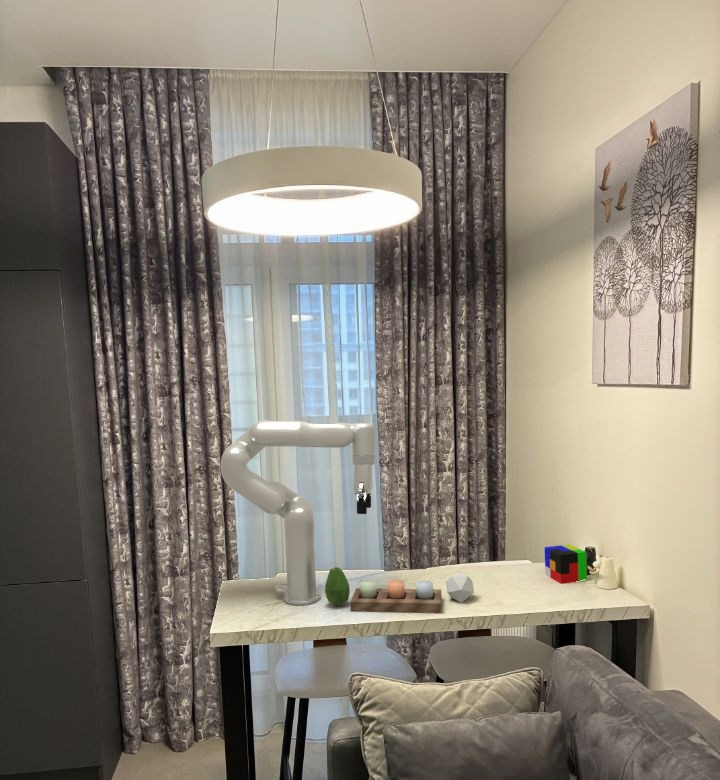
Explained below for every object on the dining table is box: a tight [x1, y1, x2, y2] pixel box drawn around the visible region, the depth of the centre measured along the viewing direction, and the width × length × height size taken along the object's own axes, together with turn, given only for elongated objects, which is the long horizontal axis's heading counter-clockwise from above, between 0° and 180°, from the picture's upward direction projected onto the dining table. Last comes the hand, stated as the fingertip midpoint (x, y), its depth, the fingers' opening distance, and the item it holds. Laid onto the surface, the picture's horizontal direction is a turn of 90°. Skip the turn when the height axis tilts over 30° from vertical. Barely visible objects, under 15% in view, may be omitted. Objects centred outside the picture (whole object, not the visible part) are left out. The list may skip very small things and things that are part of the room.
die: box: [445, 571, 475, 603], centre depth 191 cm, size 8×9×10 cm
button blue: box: [415, 580, 434, 599], centre depth 187 cm, size 5×5×4 cm
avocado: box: [324, 566, 351, 606], centre depth 190 cm, size 8×8×12 cm
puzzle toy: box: [544, 544, 588, 585], centre depth 207 cm, size 10×10×10 cm
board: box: [349, 587, 442, 614], centre depth 188 cm, size 28×12×3 cm, turn 82°
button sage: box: [359, 579, 377, 598], centre depth 189 cm, size 5×5×4 cm
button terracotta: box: [387, 579, 406, 599], centre depth 188 cm, size 5×5×4 cm
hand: (364, 510), depth 199 cm, fingers open, 9 cm apart
